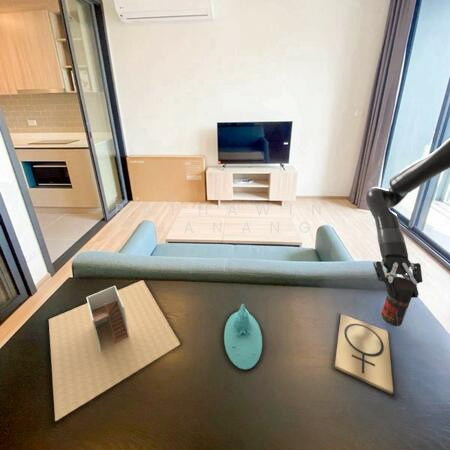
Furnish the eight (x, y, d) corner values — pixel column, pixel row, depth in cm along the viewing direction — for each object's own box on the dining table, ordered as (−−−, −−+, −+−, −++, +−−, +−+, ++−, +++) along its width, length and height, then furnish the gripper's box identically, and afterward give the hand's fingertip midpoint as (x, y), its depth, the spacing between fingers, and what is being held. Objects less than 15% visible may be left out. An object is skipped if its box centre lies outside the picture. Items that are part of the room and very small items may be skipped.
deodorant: (381, 308, 86) (391, 274, 80) (401, 315, 83) (414, 281, 77) (381, 321, 81) (392, 285, 76) (402, 329, 78) (416, 293, 73)
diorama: (223, 369, 69) (223, 348, 66) (224, 311, 88) (224, 292, 85) (266, 369, 69) (268, 348, 66) (258, 311, 88) (259, 292, 85)
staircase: (100, 352, 74) (89, 310, 68) (93, 326, 82) (83, 287, 76) (129, 336, 79) (122, 296, 73) (120, 313, 87) (113, 275, 81)
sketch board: (387, 333, 80) (388, 330, 80) (392, 394, 64) (393, 392, 63) (340, 316, 86) (341, 313, 86) (334, 367, 70) (335, 365, 69)
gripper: (375, 239, 80) (386, 295, 73) (421, 241, 79) (436, 298, 72) (364, 244, 87) (373, 295, 80) (406, 245, 86) (419, 298, 79)
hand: (403, 296), depth 76 cm, fingers closed on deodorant, 6 cm apart
